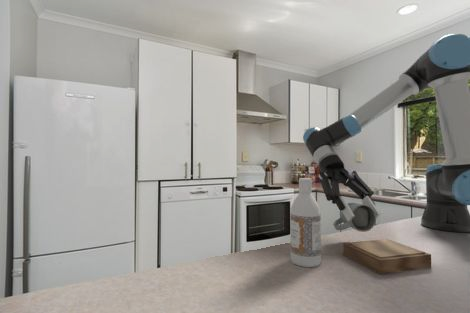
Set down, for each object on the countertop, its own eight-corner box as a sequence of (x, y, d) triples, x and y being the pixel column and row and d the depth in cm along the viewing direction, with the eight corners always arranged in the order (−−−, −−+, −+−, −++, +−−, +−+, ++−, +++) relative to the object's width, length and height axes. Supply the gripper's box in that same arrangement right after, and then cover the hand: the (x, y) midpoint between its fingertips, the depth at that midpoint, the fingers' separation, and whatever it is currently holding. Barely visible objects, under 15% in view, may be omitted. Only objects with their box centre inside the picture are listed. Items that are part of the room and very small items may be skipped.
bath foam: (285, 258, 63) (285, 177, 64) (308, 255, 65) (308, 177, 66) (301, 270, 57) (301, 179, 57) (327, 265, 59) (326, 179, 59)
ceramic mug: (360, 223, 80) (359, 199, 81) (377, 230, 72) (375, 203, 72) (328, 226, 79) (326, 202, 80) (342, 234, 71) (339, 206, 71)
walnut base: (387, 250, 69) (387, 237, 70) (431, 267, 58) (431, 253, 58) (343, 254, 66) (343, 241, 66) (380, 274, 54) (380, 258, 54)
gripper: (349, 168, 93) (387, 222, 77) (297, 169, 88) (326, 227, 72) (359, 153, 88) (401, 207, 72) (305, 153, 83) (338, 212, 67)
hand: (364, 217), depth 72 cm, fingers closed on ceramic mug, 8 cm apart
